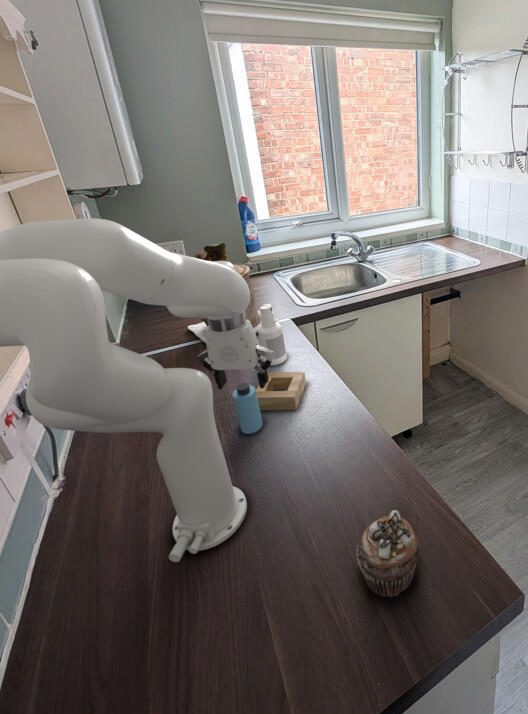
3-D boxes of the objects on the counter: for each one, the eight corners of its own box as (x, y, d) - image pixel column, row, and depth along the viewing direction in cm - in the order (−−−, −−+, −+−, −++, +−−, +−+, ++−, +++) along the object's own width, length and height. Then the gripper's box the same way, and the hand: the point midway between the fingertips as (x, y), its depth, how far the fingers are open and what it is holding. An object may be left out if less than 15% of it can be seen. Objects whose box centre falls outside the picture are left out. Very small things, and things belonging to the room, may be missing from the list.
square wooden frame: (296, 409, 100) (294, 396, 99) (254, 410, 101) (251, 397, 100) (306, 383, 110) (304, 371, 109) (267, 384, 111) (265, 372, 110)
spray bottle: (281, 366, 119) (271, 312, 112) (260, 365, 120) (248, 311, 114) (290, 354, 125) (281, 301, 118) (270, 353, 127) (260, 301, 120)
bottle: (258, 433, 93) (249, 393, 89) (237, 433, 94) (227, 393, 89) (265, 418, 98) (257, 379, 94) (245, 419, 98) (236, 380, 94)
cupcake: (394, 529, 70) (391, 487, 66) (432, 575, 62) (431, 530, 58) (347, 565, 64) (340, 521, 61) (382, 619, 57) (378, 573, 53)
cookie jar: (249, 306, 161) (232, 228, 148) (281, 324, 144) (266, 238, 132) (186, 329, 145) (161, 244, 133) (214, 353, 128) (189, 258, 116)
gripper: (178, 329, 82) (199, 396, 89) (261, 326, 81) (275, 394, 88) (196, 312, 89) (213, 375, 96) (272, 309, 88) (284, 374, 95)
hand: (243, 384), depth 92 cm, fingers open, 9 cm apart
